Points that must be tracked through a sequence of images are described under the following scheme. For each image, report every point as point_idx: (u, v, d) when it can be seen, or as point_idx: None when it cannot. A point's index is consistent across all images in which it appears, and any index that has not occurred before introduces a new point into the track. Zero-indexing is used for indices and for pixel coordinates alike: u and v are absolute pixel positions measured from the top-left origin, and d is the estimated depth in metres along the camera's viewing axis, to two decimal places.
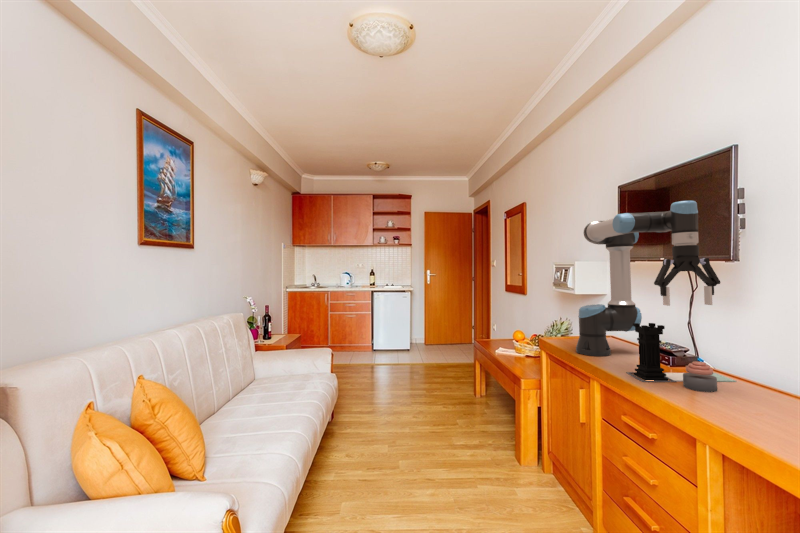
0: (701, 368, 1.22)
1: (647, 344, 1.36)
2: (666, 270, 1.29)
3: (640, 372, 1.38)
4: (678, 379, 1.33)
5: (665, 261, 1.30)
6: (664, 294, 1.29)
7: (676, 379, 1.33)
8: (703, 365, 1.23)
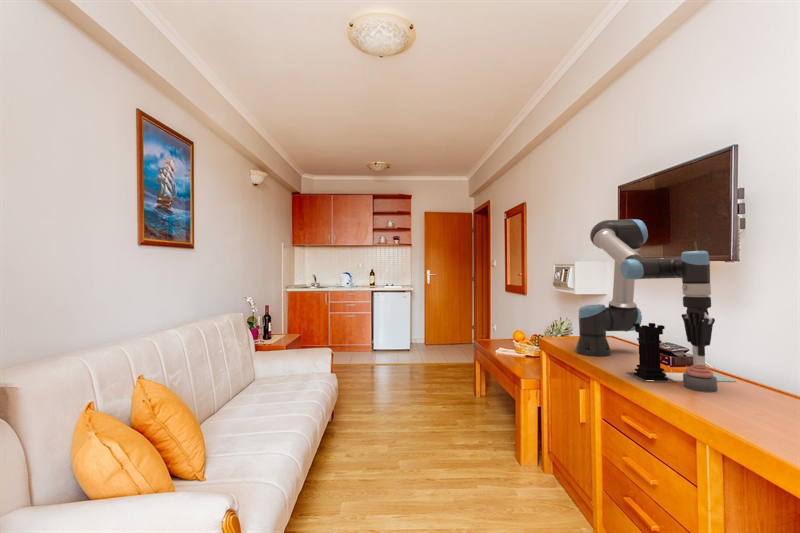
0: (701, 371, 1.22)
1: (647, 344, 1.36)
2: (685, 325, 1.29)
3: (640, 372, 1.38)
4: (678, 379, 1.33)
5: None
6: None
7: (676, 379, 1.33)
8: (703, 368, 1.23)
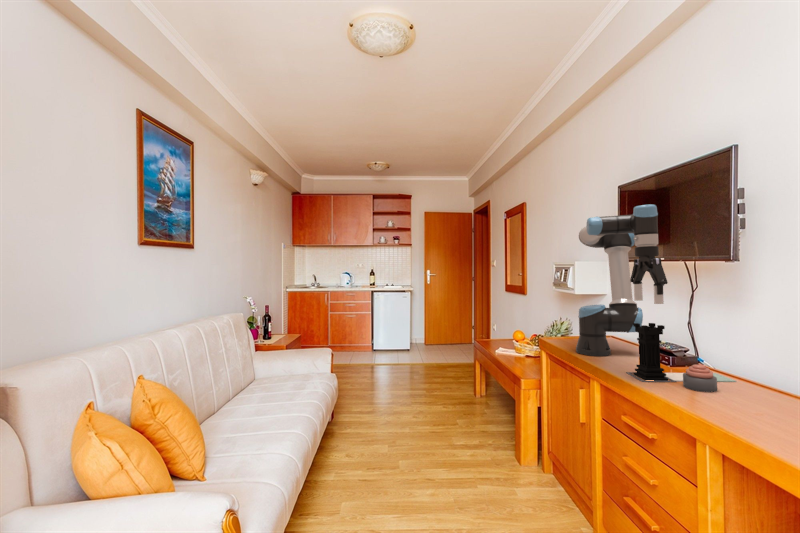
0: (701, 371, 1.22)
1: (647, 344, 1.36)
2: (633, 269, 1.45)
3: (640, 372, 1.38)
4: (678, 379, 1.33)
5: None
6: None
7: (676, 379, 1.33)
8: (703, 368, 1.23)
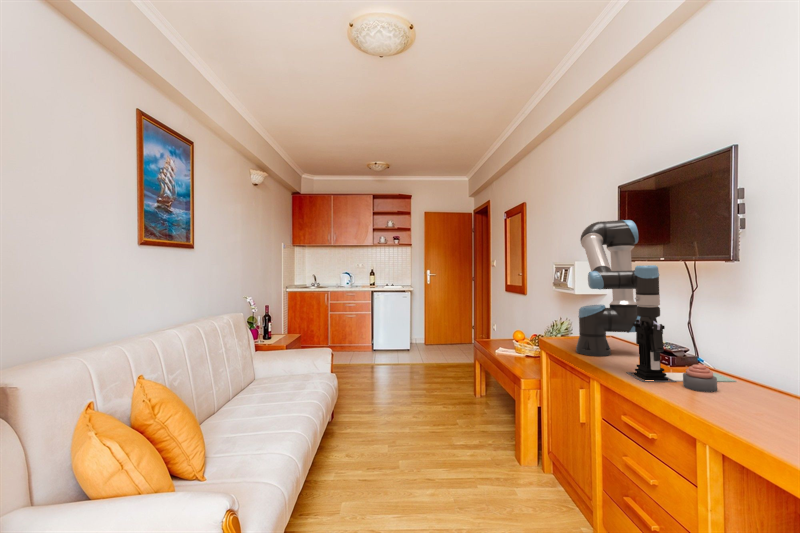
0: (701, 371, 1.22)
1: (647, 344, 1.36)
2: None
3: (640, 372, 1.38)
4: (678, 379, 1.33)
5: None
6: None
7: (676, 379, 1.33)
8: (703, 368, 1.23)
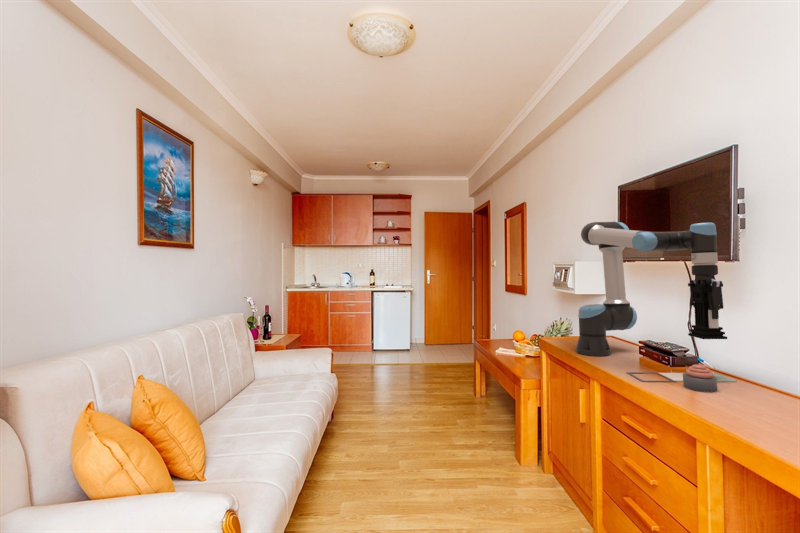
0: (701, 371, 1.22)
1: (704, 302, 1.33)
2: None
3: (697, 332, 1.36)
4: (678, 379, 1.33)
5: None
6: None
7: (676, 379, 1.33)
8: (703, 368, 1.23)
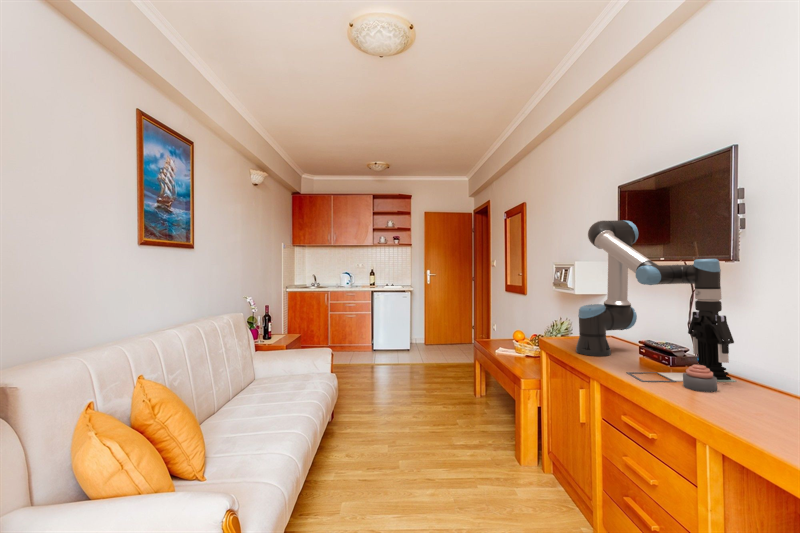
0: (701, 371, 1.22)
1: (708, 343, 1.33)
2: (692, 321, 1.43)
3: None
4: (678, 379, 1.33)
5: None
6: None
7: (676, 379, 1.33)
8: (703, 368, 1.23)
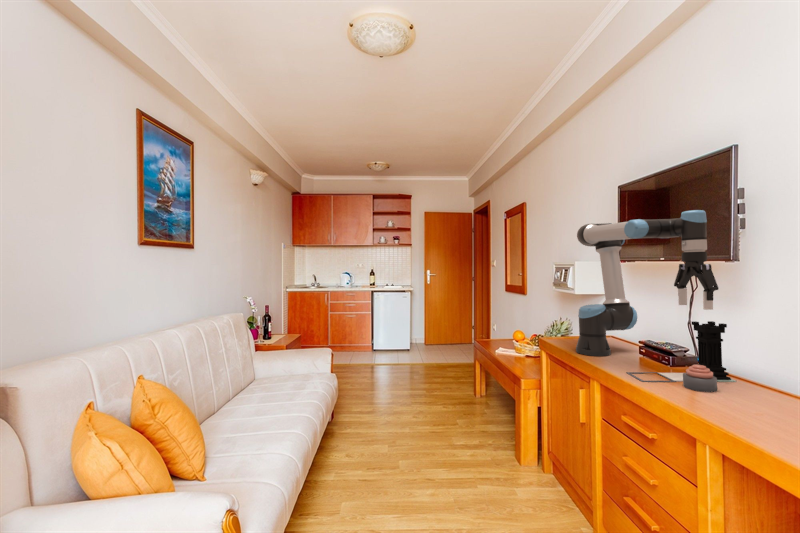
0: (701, 371, 1.22)
1: (708, 343, 1.33)
2: (678, 274, 1.46)
3: None
4: (678, 379, 1.33)
5: None
6: None
7: (676, 379, 1.33)
8: (703, 368, 1.23)
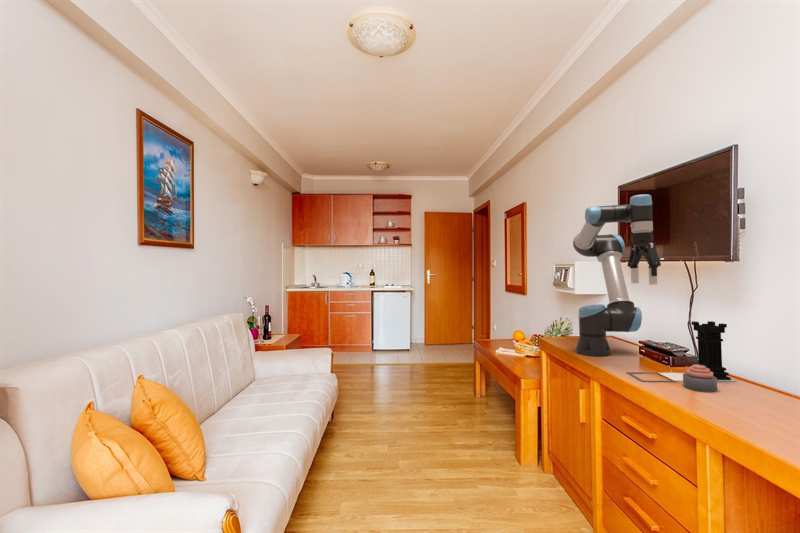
0: (701, 371, 1.22)
1: (708, 343, 1.33)
2: (630, 254, 1.58)
3: None
4: (678, 379, 1.33)
5: None
6: None
7: (676, 379, 1.33)
8: (703, 368, 1.23)
